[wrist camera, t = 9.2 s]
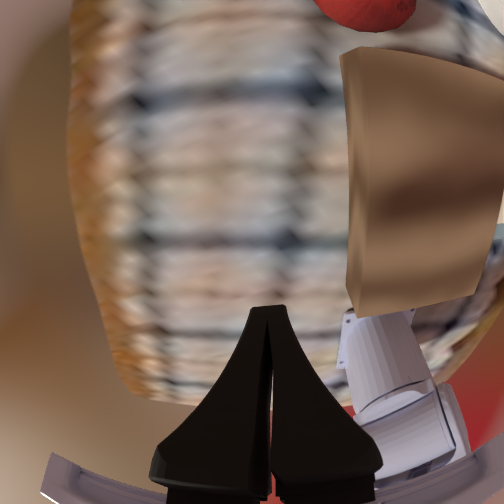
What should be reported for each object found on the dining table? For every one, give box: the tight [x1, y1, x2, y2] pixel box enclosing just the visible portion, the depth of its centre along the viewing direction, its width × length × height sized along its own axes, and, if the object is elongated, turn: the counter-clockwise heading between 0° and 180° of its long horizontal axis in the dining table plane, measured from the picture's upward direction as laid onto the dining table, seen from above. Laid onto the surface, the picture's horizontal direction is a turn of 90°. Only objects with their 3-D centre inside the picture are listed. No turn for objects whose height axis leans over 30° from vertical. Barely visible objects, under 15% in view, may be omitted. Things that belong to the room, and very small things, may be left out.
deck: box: [339, 47, 504, 319], centre depth 15 cm, size 18×12×4 cm, turn 9°
